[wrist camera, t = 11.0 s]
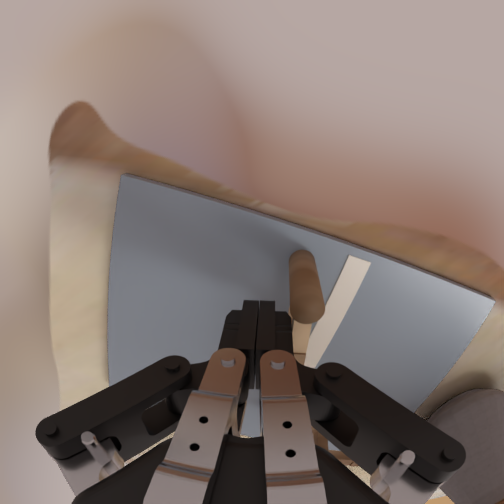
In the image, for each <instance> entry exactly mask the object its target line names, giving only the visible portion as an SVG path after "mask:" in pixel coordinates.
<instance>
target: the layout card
mask: <svg viewBox="0 0 504 504" xmlns="http://www.w3.org/2000/svg"><path fill="white" fill-rule="evenodd" d="M297 250H307V251H309V252H311V253H312V254H313V256H314V258H315V262H316V267H317V271H318V276H319V280H320V285H321V289H322V294H323V299H324V304H325V313H324V315H323V316H322V318H321V319H320V320H318V321H317V322H315V323H312V326H311V332H310V337H309V342H308V347H307V352H306V358H305V363H304V366H307V367H310V368H315V369H317V368H318V367H319V366H320V365H322V364H324V363H328V362H336V363H340V364H342V365H344V366H346V367H347V368H349V369H350V370H352V371H353V372H354V373H356V374H357V375H359V376H360V377H362V378H363V379H364V380H366V381H367V382H369V383H370V384H372V385H373V386H375V387H376V388H378V389H379V390H381V391H382V392H383V393H385V394H386V395H388V396H389V397H391V398H392V399H394V400H395V401H397V402H398V403H400V404H401V405H403V406H404V407H406V408H407V409H409V410H410V411H412V412H413V413H414V412H415V411H416V410H417V408H418V407H419V406H420V405H421V404H422V403H423V402H424V401H425V400H426V398H427V397H428V396H429V395H430V394H431V393H432V392H433V390H434V389H435V388H436V387H437V386H438V384H439V383H440V382H441V381H442V379H443V378H444V377H445V376H446V374H447V373H448V372H449V371H450V369H451V368H452V367H453V365H454V364H455V363H456V361H457V360H458V359H459V357H460V356H461V355H462V353H463V352H464V350H465V349H466V348H467V346H468V345H469V343H470V342H471V340H472V339H473V337H474V336H475V334H476V333H477V331H478V330H479V328H480V327H481V325H482V324H483V322H484V320H485V319H486V317H487V316H488V314H489V312H490V311H491V309H492V307H493V306H494V304H495V302H496V301H495V300H494V299H493V298H492V297H490V296H488V295H485V294H483V293H481V292H478V291H476V290H473V289H471V288H468V287H466V286H464V285H461V284H459V283H456V282H454V281H451V280H449V279H446V278H444V277H441V276H439V275H436V274H433V273H431V272H428V271H426V270H423V269H420V268H418V267H415V266H413V265H410V264H407V263H405V262H402V261H399V260H397V259H394V258H391V257H389V256H386V255H383V254H380V253H378V252H375V251H372V250H369V249H367V248H364V247H361V246H358V245H355V244H353V243H350V242H347V241H344V240H341V239H338V238H336V237H333V236H330V235H327V234H324V233H321V232H318V231H315V230H312V229H309V228H306V227H303V226H300V225H297V224H294V223H291V222H288V221H285V220H282V219H279V218H276V217H273V216H270V215H267V214H263V213H260V212H257V211H254V210H251V209H248V208H244V207H241V206H238V205H235V204H232V203H228V202H225V201H222V200H218V199H215V198H212V197H208V196H205V195H202V194H198V193H195V192H192V191H188V190H185V189H181V188H178V187H174V186H171V185H167V184H164V183H160V182H157V181H153V180H149V179H146V178H142V177H138V176H135V175H131V174H127V173H125V174H122V175H121V179H120V185H119V191H118V197H117V204H116V212H115V220H114V228H113V237H112V247H111V259H110V273H109V291H108V369H109V387H110V386H112V385H114V384H116V383H117V382H119V381H121V380H123V379H125V378H127V377H129V376H131V375H133V374H135V373H136V372H138V371H140V370H142V369H144V368H146V367H148V366H149V365H151V364H153V363H155V362H157V361H159V360H160V359H162V358H164V357H167V356H171V355H178V356H182V357H185V358H186V359H187V360H188V361H189V362H190V364H195V363H202V362H205V361H208V360H210V358H211V356H212V354H213V353H214V352H216V351H217V350H218V347H219V343H220V339H221V335H222V331H223V327H224V323H225V319H226V316H227V315H228V314H229V313H230V312H231V310H242V306H243V301H244V300H259V306H260V300H266V301H275V311H286V312H287V313H288V309H289V307H290V292H289V258H290V256H291V254H292V253H294V252H295V251H297ZM161 401H162V400H161ZM156 404H157V403H156ZM151 407H152V406H151ZM240 434H241V435H245V436H249V437H260V417H259V389H256V374H255V386H254V389H249V393H248V398H247V405H246V410H245V415H244V419H243V424H242V429H241V433H240ZM328 450H337V451H340V450H339V449H338V448H337V447H335V446H334V445H333V444H332V443H331V442H330V441H328Z"/></svg>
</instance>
